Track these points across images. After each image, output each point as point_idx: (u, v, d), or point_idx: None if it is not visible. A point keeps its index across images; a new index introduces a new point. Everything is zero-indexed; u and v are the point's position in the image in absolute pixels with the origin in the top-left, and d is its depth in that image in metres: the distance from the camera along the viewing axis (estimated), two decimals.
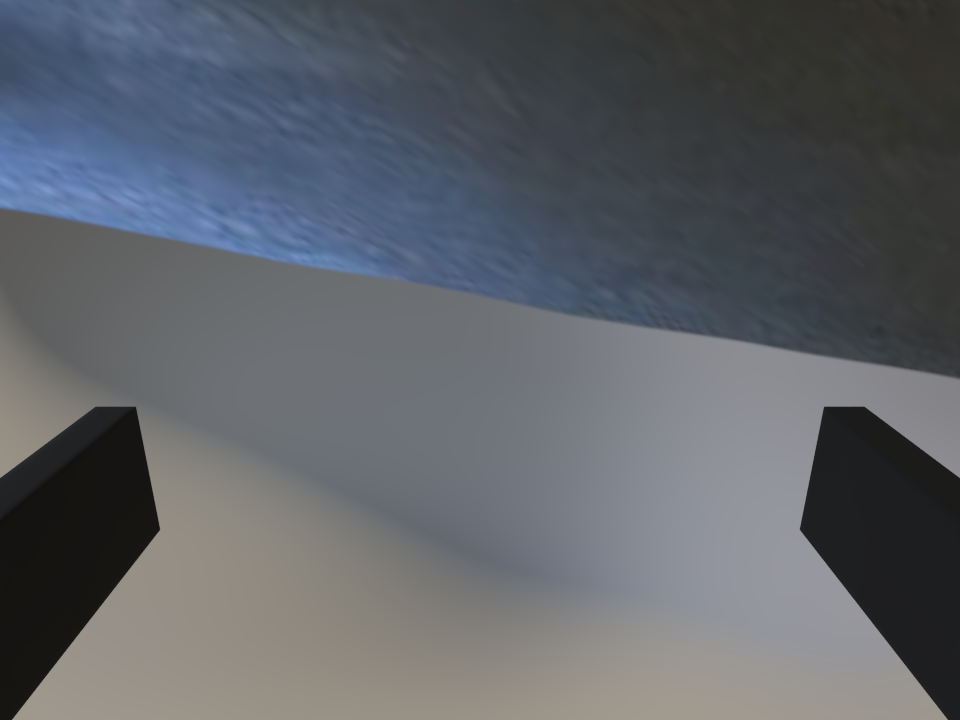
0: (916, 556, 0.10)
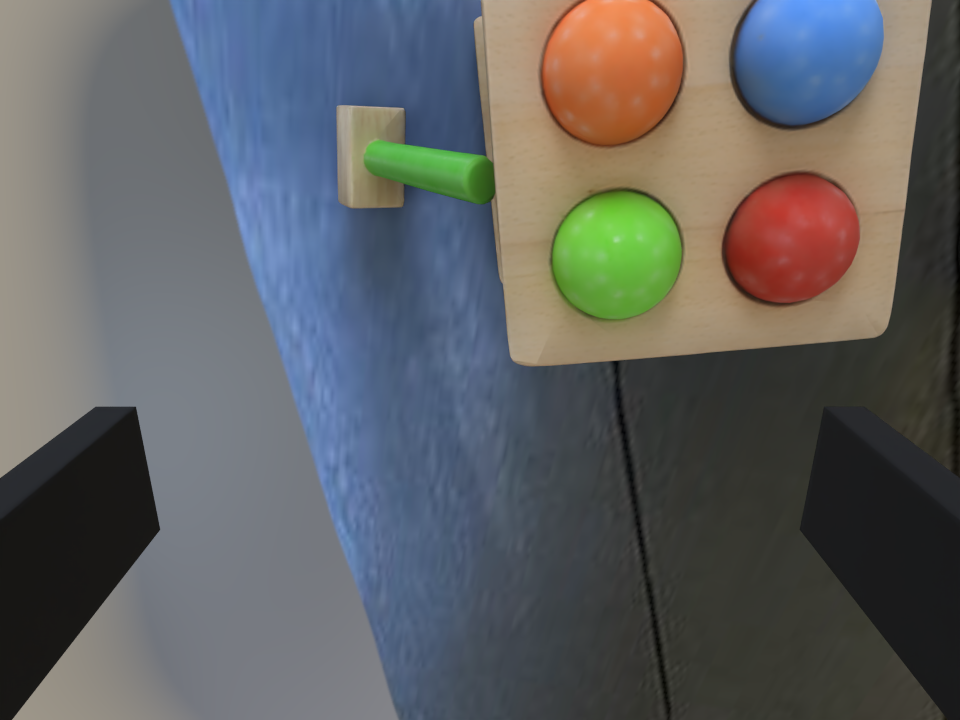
0: (916, 556, 0.10)
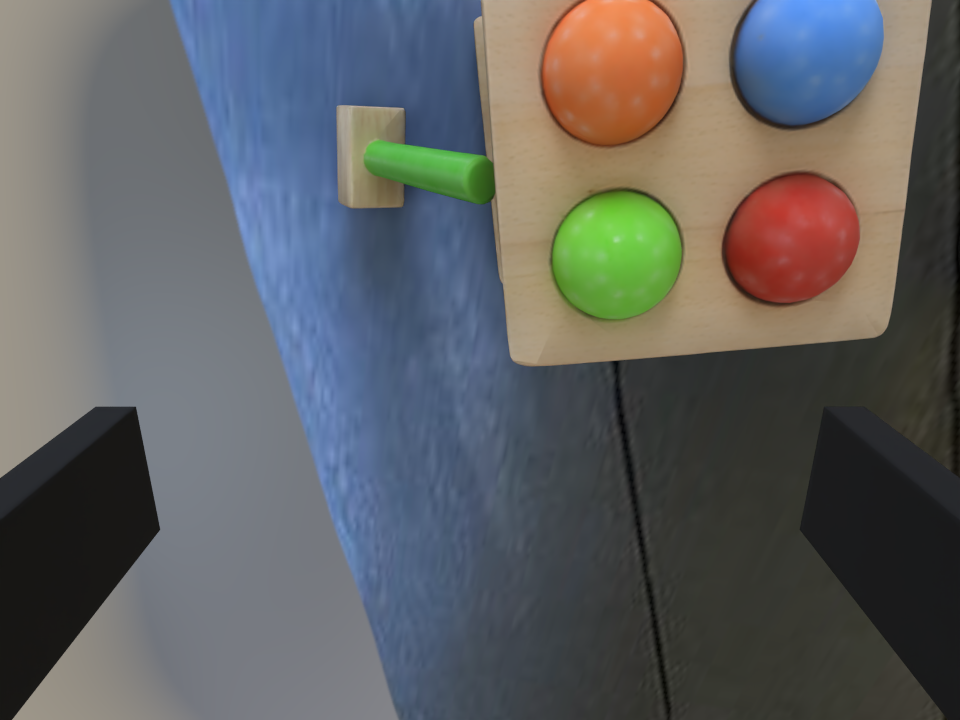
0: (916, 556, 0.10)
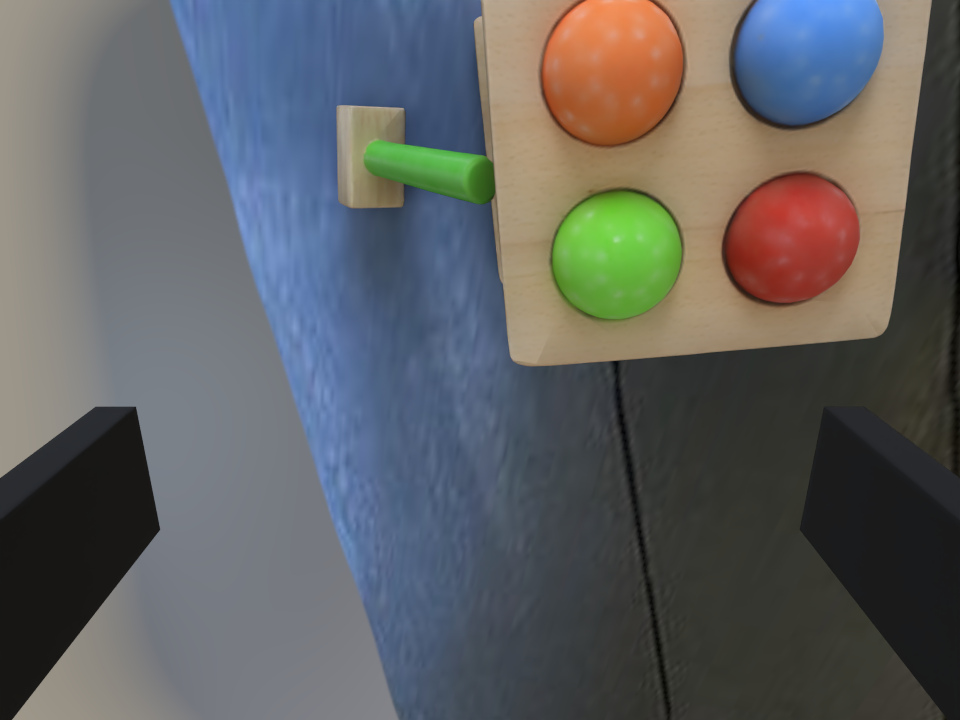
0: (916, 556, 0.10)
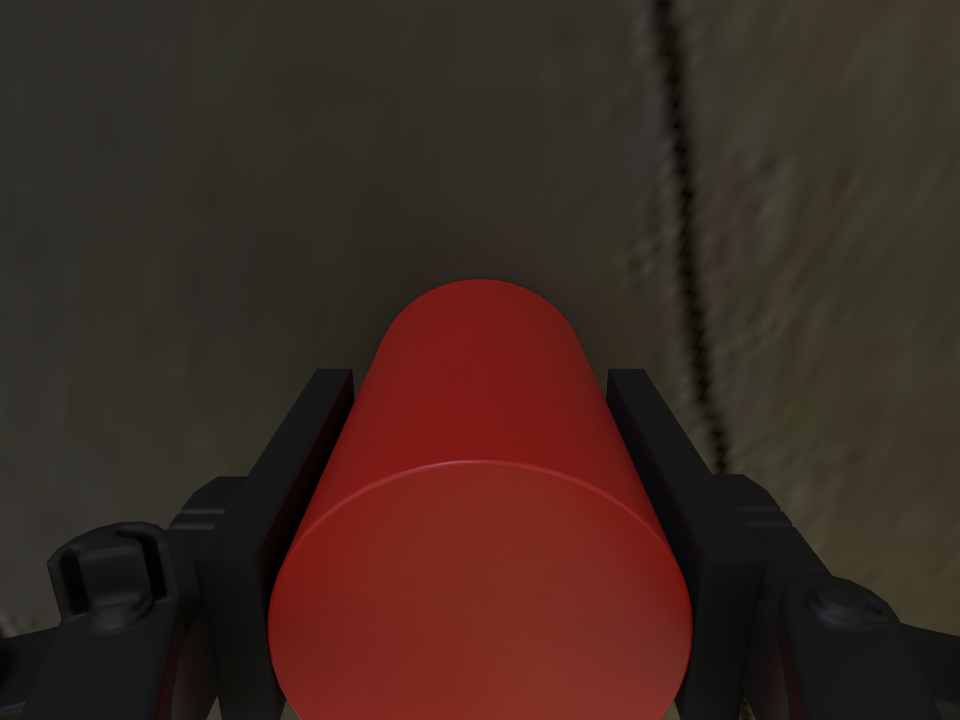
0: None
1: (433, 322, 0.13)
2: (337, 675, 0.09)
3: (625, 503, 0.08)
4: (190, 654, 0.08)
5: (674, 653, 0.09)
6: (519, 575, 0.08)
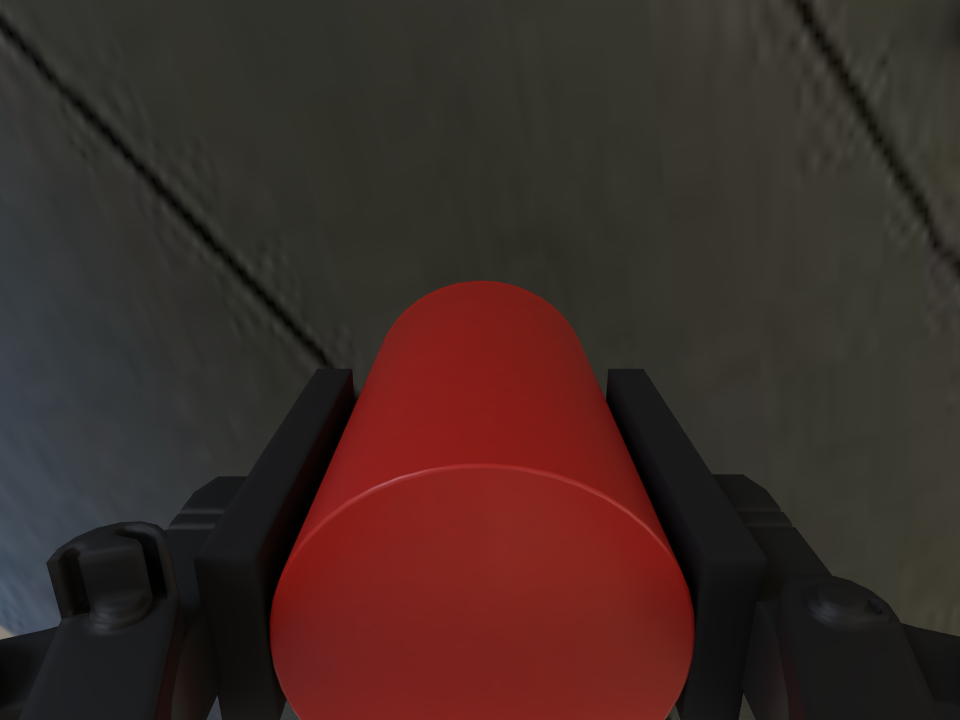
0: None
1: (434, 324, 0.13)
2: (339, 679, 0.09)
3: (627, 507, 0.08)
4: (190, 654, 0.08)
5: (675, 657, 0.09)
6: (521, 578, 0.08)
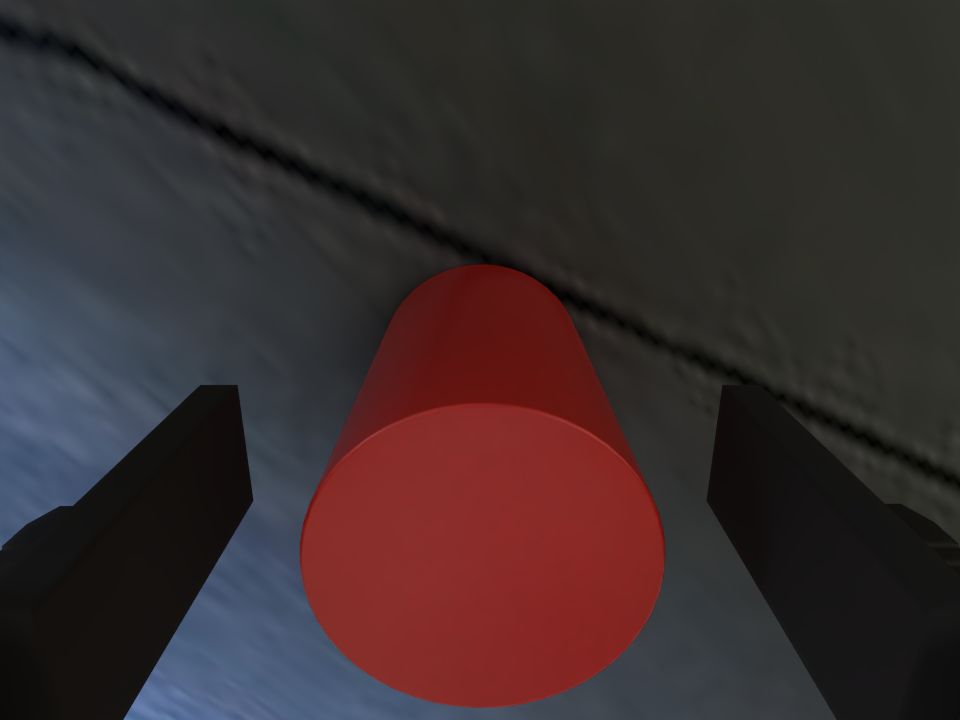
0: (781, 515, 0.11)
1: (439, 300, 0.15)
2: (359, 595, 0.10)
3: (605, 441, 0.09)
4: None
5: (648, 574, 0.10)
6: (515, 504, 0.09)
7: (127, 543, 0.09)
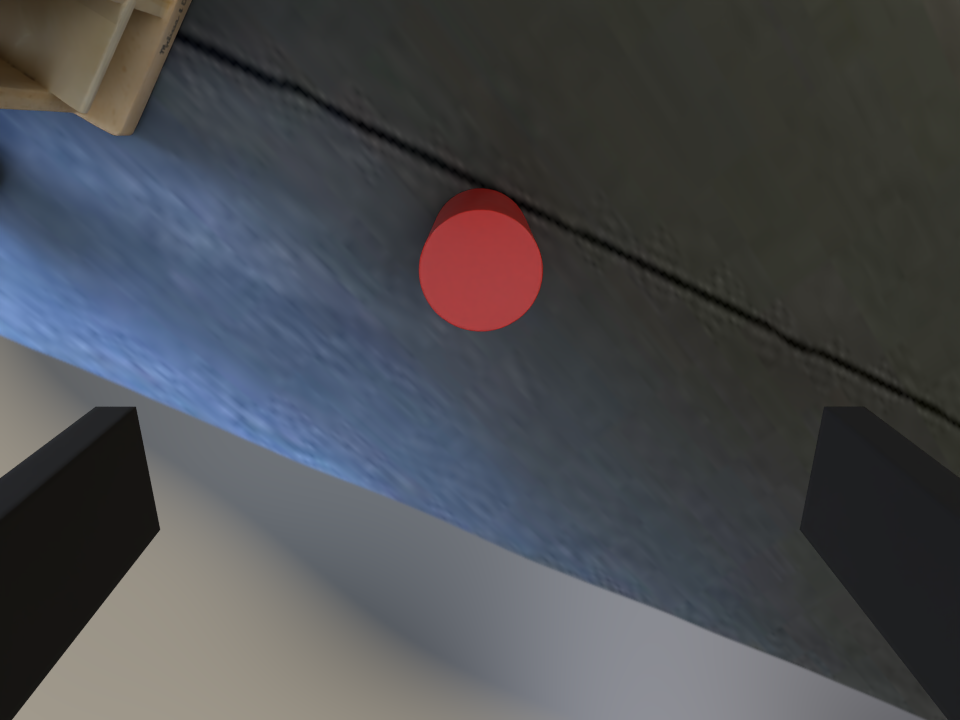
0: (916, 556, 0.10)
1: (462, 197, 0.34)
2: (438, 282, 0.29)
3: (520, 223, 0.28)
4: None
5: (537, 274, 0.29)
6: (491, 246, 0.29)
7: None
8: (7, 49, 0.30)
